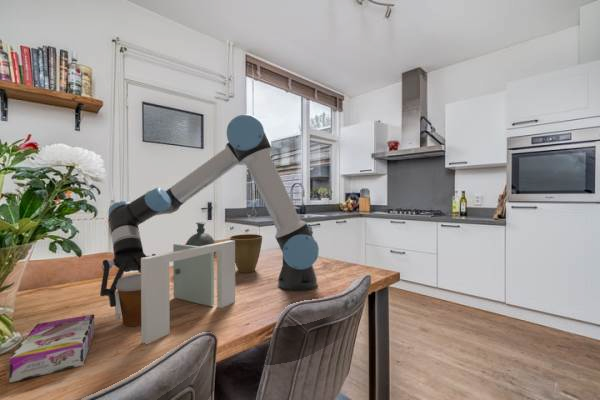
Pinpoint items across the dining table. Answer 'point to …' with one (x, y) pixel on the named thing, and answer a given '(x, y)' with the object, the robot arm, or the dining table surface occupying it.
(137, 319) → the disposable coffee cup
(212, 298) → the door
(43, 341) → the candy bar box
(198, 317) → the dining table surface
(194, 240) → the flask
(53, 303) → the dining table surface
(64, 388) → the dining table surface
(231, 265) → the door frame
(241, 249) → the plant pot
